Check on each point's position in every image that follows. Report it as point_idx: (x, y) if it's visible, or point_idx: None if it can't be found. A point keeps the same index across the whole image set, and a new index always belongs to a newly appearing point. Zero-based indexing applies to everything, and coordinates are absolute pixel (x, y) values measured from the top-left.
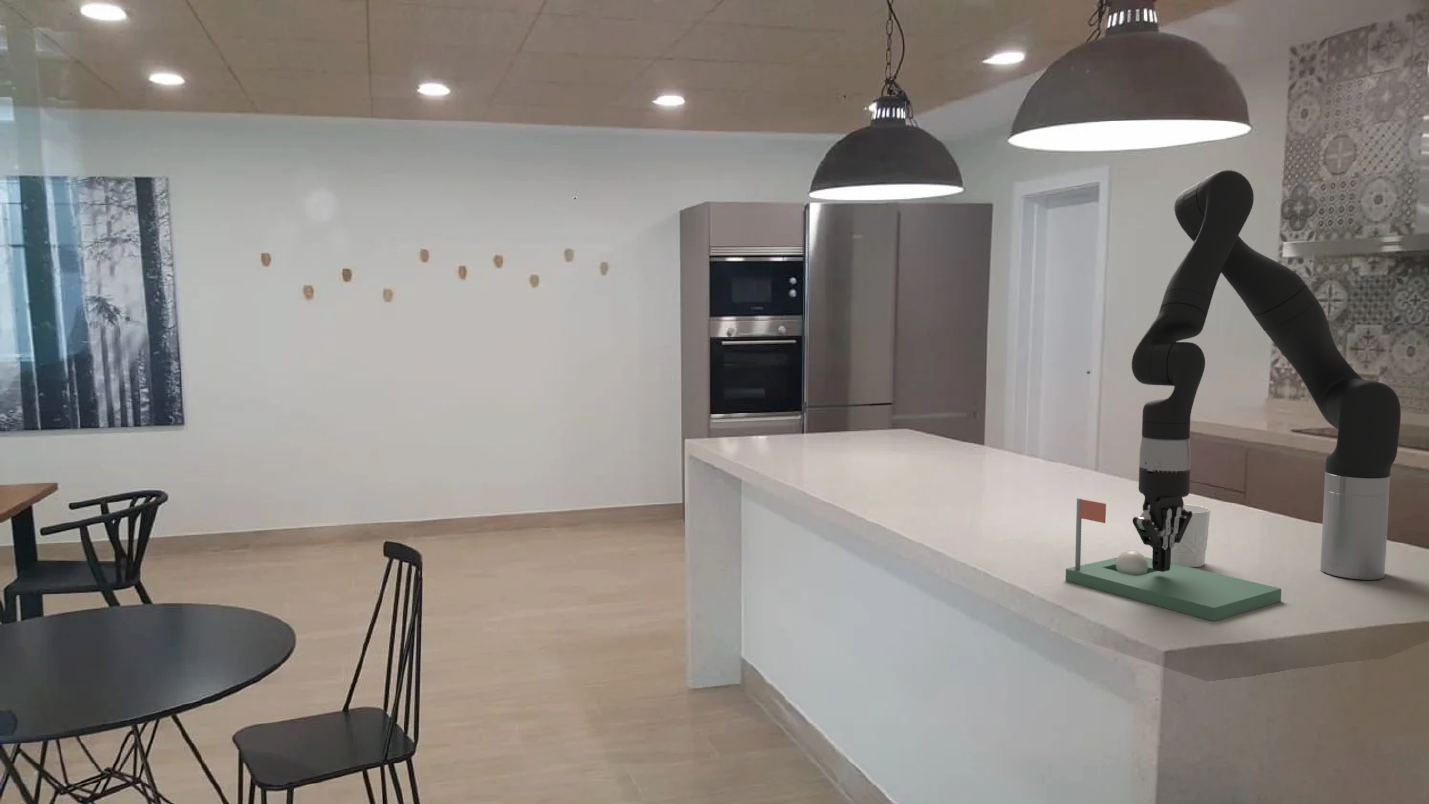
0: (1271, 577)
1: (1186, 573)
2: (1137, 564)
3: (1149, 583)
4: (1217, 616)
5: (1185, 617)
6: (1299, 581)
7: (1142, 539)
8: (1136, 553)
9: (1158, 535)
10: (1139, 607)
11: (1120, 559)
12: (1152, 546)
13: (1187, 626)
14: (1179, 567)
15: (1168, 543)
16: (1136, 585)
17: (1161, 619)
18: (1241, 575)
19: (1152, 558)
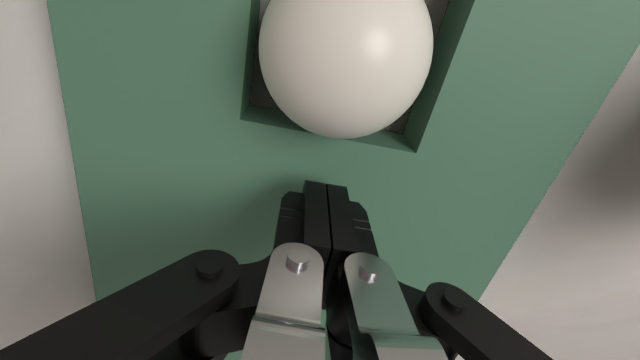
0: (634, 316)
1: (425, 235)
2: (287, 116)
3: (177, 201)
4: None
5: None
6: (614, 357)
7: (142, 285)
8: (334, 104)
9: (349, 321)
10: (47, 206)
11: (275, 10)
12: (253, 269)
13: (35, 330)
14: (509, 188)
15: (325, 336)
16: (102, 181)
17: (16, 282)
18: (630, 269)
19: (279, 214)
